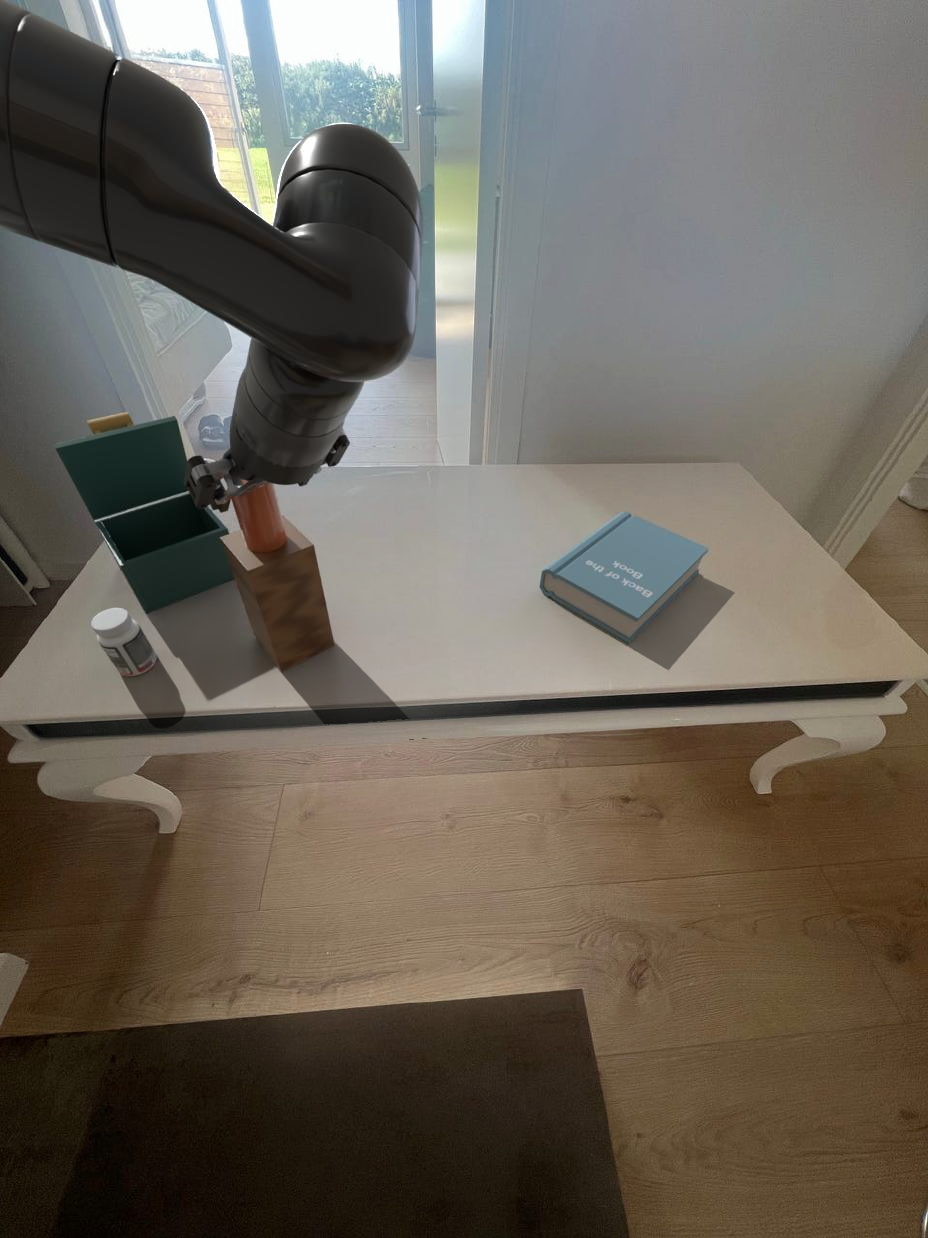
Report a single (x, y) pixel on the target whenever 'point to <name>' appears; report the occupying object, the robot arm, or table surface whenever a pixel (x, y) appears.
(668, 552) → the book
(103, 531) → the chest
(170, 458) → the lid
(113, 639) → the pill bottle
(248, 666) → the table surface
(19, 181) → the robot arm
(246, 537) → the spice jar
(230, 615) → the table surface
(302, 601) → the stand
